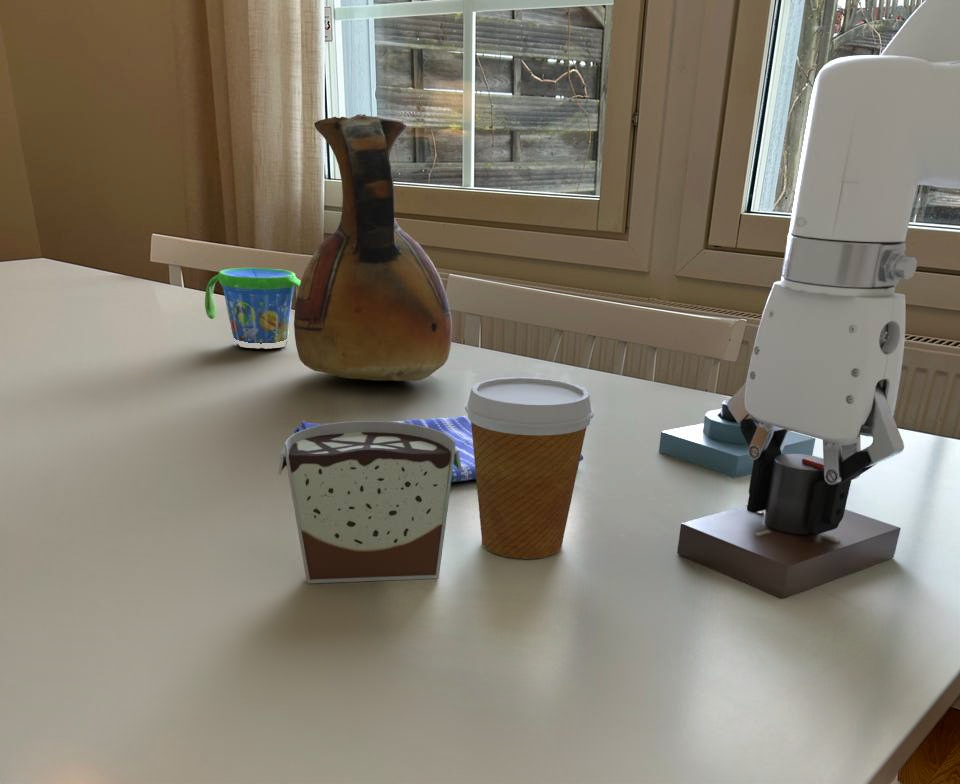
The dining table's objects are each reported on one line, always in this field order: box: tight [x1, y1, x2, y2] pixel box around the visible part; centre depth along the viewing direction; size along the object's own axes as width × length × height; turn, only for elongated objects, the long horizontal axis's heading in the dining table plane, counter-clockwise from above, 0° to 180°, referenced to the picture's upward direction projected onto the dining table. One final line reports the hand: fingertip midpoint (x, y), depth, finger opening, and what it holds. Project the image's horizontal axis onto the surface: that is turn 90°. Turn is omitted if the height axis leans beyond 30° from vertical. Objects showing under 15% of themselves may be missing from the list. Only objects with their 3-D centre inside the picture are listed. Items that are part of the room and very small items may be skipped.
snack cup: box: [204, 267, 301, 344], centre depth 140 cm, size 16×10×10 cm
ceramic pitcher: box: [293, 113, 453, 382], centre depth 119 cm, size 20×20×30 cm
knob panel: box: [676, 504, 902, 599], centre depth 76 cm, size 14×10×3 cm
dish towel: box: [293, 415, 584, 483], centre depth 95 cm, size 17×24×3 cm
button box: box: [658, 408, 816, 479], centre depth 100 cm, size 12×10×4 cm
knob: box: [764, 454, 824, 534], centre depth 74 cm, size 4×4×5 cm
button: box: [720, 399, 737, 422], centre depth 98 cm, size 4×4×2 cm
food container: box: [278, 420, 462, 584], centre depth 70 cm, size 12×6×10 cm, turn 100°
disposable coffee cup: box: [464, 376, 595, 560], centre depth 74 cm, size 10×10×12 cm
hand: (792, 517), depth 75 cm, fingers open, 4 cm apart
